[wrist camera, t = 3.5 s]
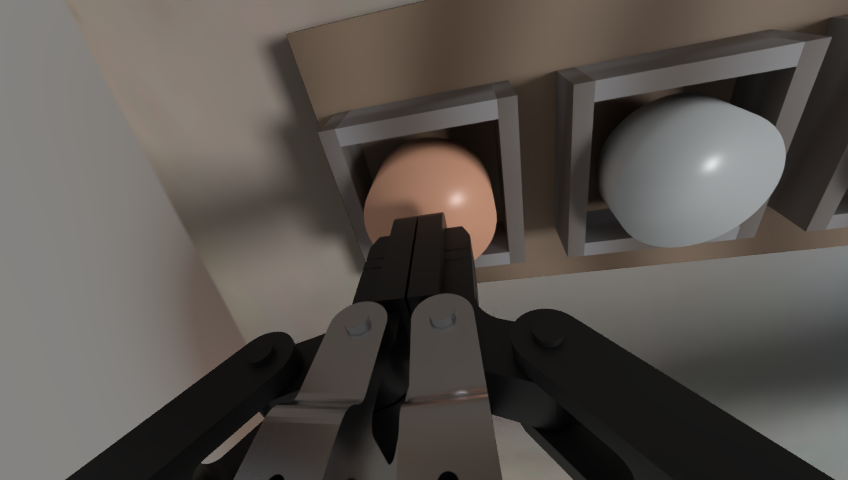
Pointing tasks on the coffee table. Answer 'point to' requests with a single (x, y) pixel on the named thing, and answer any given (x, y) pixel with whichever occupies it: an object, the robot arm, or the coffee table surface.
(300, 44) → the button panel
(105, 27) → the coffee table surface
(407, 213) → the terracotta button
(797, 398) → the coffee table surface
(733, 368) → the coffee table surface
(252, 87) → the coffee table surface
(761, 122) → the grey button
